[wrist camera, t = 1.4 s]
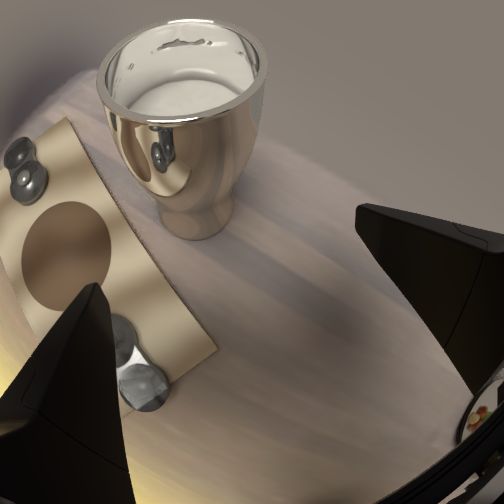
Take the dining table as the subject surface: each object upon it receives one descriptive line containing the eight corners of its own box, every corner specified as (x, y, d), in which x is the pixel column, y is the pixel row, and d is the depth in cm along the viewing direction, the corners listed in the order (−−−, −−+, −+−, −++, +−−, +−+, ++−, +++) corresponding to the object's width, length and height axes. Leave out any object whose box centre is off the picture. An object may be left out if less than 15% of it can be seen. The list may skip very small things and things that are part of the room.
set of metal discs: (182, 389, 19) (179, 395, 18) (142, 417, 18) (136, 424, 17) (33, 135, 22) (25, 126, 20) (5, 159, 21) (-3, 151, 19)
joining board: (218, 347, 21) (218, 348, 20) (104, 427, 18) (99, 432, 17) (69, 121, 24) (65, 115, 23) (-14, 192, 21) (-19, 188, 20)
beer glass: (230, 253, 23) (262, 143, 8) (143, 238, 22) (60, 123, 8) (244, 173, 25) (281, 26, 10) (164, 161, 24) (133, 14, 9)
